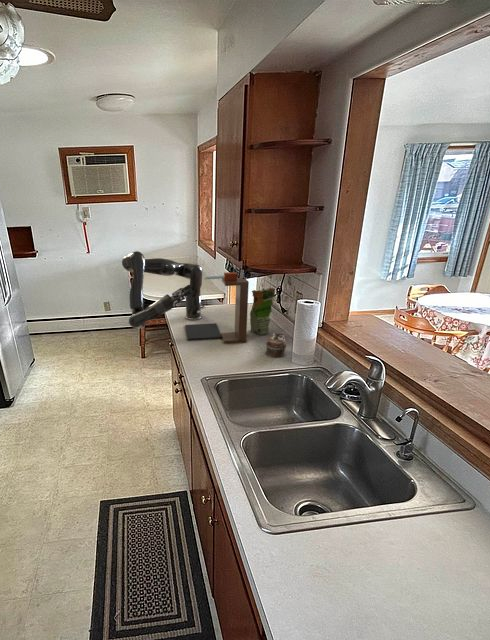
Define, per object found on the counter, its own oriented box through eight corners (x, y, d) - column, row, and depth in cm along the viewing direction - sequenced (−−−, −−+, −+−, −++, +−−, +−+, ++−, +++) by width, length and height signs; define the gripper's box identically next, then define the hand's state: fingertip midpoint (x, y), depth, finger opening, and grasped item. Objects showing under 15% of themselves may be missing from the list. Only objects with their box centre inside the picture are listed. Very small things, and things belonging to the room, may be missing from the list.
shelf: (220, 335, 215) (221, 277, 201) (241, 334, 215) (243, 276, 201) (224, 343, 204) (225, 283, 190) (246, 342, 204) (248, 281, 190)
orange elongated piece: (204, 280, 197) (204, 273, 196) (235, 278, 197) (235, 272, 196) (205, 281, 194) (205, 275, 192) (237, 280, 194) (237, 273, 193)
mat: (185, 326, 230) (185, 324, 229) (215, 324, 230) (215, 323, 230) (188, 340, 210) (188, 338, 209) (221, 338, 210) (221, 336, 210)
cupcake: (266, 349, 195) (267, 330, 191) (286, 350, 192) (287, 331, 188) (264, 356, 187) (265, 337, 183) (284, 358, 184) (286, 339, 180)
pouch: (272, 329, 220) (276, 285, 209) (268, 336, 210) (271, 291, 199) (253, 327, 224) (255, 284, 213) (247, 334, 214) (249, 289, 204)
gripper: (159, 303, 192) (187, 285, 189) (159, 295, 205) (186, 278, 202) (168, 315, 195) (195, 298, 192) (167, 306, 208) (193, 290, 205)
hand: (190, 288), depth 197 cm, fingers open, 8 cm apart
